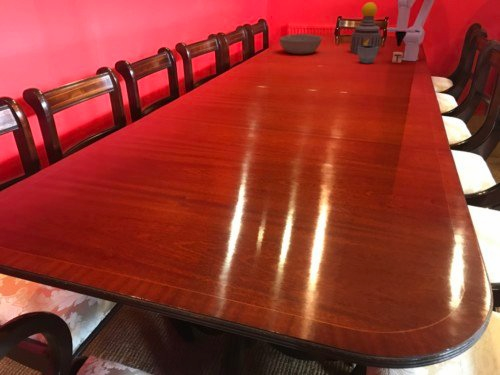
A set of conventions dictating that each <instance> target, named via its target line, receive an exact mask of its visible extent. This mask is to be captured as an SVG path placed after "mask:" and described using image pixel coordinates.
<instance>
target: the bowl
mask: <svg viewBox="0 0 500 375" xmlns="http://www.w3.org/2000/svg"><path fill="white" fill-rule="evenodd" d="M322 40H323V37H321V36H319V35H316V34H315V35H314V34H307V33H305V34H304V33H300V34H299V33H298V34H287V35H285V36H281V37H280V38H279V39H278V42H279V43H280V46H281V48H282V49H283V51H285V52H286V53H289V54H291V55H292V54H293V55H308V54H312V53H314V52H316V51H317V50H318V48H319V47H320V45H321V43H322Z"/></svg>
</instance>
